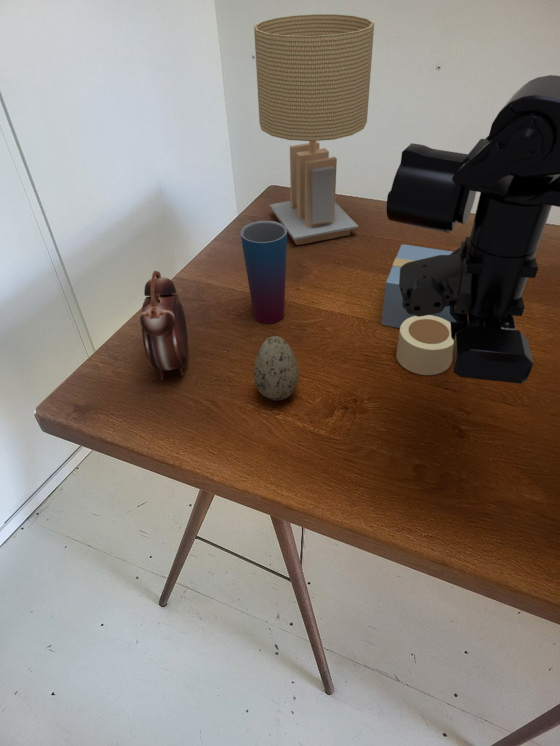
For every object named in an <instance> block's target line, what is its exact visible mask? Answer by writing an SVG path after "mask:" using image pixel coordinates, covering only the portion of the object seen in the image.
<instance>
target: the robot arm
mask: <svg viewBox="0 0 560 746" xmlns="http://www.w3.org/2000/svg"><path fill="white" fill-rule="evenodd" d="M477 193H479V198H478V202H477V206H476V209H475V215H474V218H473V223H472V227H471V232H470V235H469V236H465V240H462V241H461V244H460V247H459V248H457V249H455V250H454V251H452V253H451V254H450V255H438V256H434V257H430V258H425V259H421V260H417V261H412V262H408V263H406V264H404V265H403V266H402V267H401V268H400V278H399V287H400V291H401V294H402V298H403V302H402V306H403V308H404V309H406V312H407V313H408V314H412V315H415V316H417V317H421V316H426V315H431V314H437V313H440V312H442V311H443V309H444V307H448V306H450V315H451V316H452V317H453V318H454V319H455V321H456V322H450V324H451V337H452V339H453V340H454V343H453V352H452V357H453V358H452V370H453V373H454V374H455V375H457V376H458V377H459V378H464V379H465V378H466V379H475V380H483V381H493V382H501V383H502V382H503V383H511V384H521V385H522V384H523V383H525V382H527V381H528V379H529V377H530V375H531V372H532V369H533V367H534V361H533V360H534V359H533V357H532V352H531V347H530V342H529V339H528V338H527V337H526V336H525V334H524V333H522V331H521V330H518V329H517V325H516V321H515V316H516V317H523V313H524V310H525V307H526V306H525V302H524V298H523V293H524V289H525V287H526V284H527V281H528V279H536V276H537V273H538V270H539V266H538V265H539V264H538V262H537V258H536V255H537V252H538V248H539V245H540V241H541V240H542V237H543V233H544V231H545V227H546V224H547V222H548V218H549V216H550V212H551V209H552V207H557V208H560V75H556V74H555V75H552V74H550V75H544V76H538V77H535V78H533V79H531V80H528V82H526V83H524V85H522V87H520V88H519V89H518V90H517V91H516V92H515V93H514V94H513V95H512V97H510V99H509V100H508V101H506V103H505V104H504V106H502V108H501V110H499V112H498V113H497V115H496V117H495V118H494V119H493V121H492V123H491V126H490V130H489V134H488V135H487V136H486V137H485V138H480V139H479V140H478V142H477V143H476V144H475V145H474V147H473V148H472V149H471V150H470V151H469V152H468V153H463V152H456V151H449V150H442V149H436V148H432V147H429V146H426V145H424V144H419V143H409V145H408V146H407V147H405V148H404V149H403V150H402V151H401V157H400V164H399V166H398V168H397V169H396V172H395V175H394V178H393V181H392V185H391V188H390V191H389V192H388V194H387V197H386V208H385V209H386V217H387V220H388V221H390V222H391V221H392V222H396V223H400V224H403V225H404V224H406V225H410V226H415V227H419V228H424V229H427V230H433V231H438V232H442V233H447V234H450V232H452V231H453V230H454V229H455V225H456V223H457V224H460V225H465V224H466V223H467V221H468V219H469V217H470V214H471V212H472V209H473V206H474V203H475V199H476V195H477Z"/></svg>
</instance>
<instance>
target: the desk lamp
mask: <svg viewBox="0 0 560 746" xmlns="http://www.w3.org/2000/svg"><path fill="white" fill-rule="evenodd" d="M253 31H254V32H253V33H254V49H255V50H254V51H255V67H256V68H255V69H256V84H257V102H258V105H257V106H258V119H259V126H260V130H261V131H262V132H264V133H266V134H268V135H269V136H271V137H275V138H279V139H283V140H287V141H299V142H308V143H301V144H294V145H289V173H290V174H289V176H290V179H289V181H290V200H287V201H281V202H276V203H270V204H269V208H270V209H271V211H272V212H273V213H274V215H275V216H276V218H277V220H278V221H279V223H281V224H283V225H284V226H285V227H286V228H287V234H288V235H289V236H290V238H291V239H292V240H293V241H294V244H296V246H301V245H304V244H305V245H306V244H311V243H316V242H320V241H326V240H331V239H336V238H342V237H345V236H350V235H351V230H354V229H355V230H356V229H358V228H359V225H358V224H357V223H356V222H355V221H354V220H353V218H352V217H350V216H349V215H348V214H347V212H345V211H344V209H343V208H342V207H341V206H340V205H339V204H338V203H337V202H336V189H337V187H336V186H337V164H338V163H337V161H338V159H337V157H336V156H330V152H329V150H328V149H327V148H325V147H323V148H320V141H332V140H338V139H341V138H345V137H346V138H347V137H350V136H353V135H355V134H357V133H359V132H361V131H363V130H364V129H365V127H366V125H367V122H368V114H369V113H368V112H369V99H370V85H371V72H372V60H373V59H372V58H373V46H374V32H375V22H374V21H373V20H372V19H369V18H367V17H362V16H357V15H349V14H333V13H331V14H327V13H326V14H325V13H324V14H323V13H321V14H320V13H319V14H318V13H315V14H296V15H288V16H281V17H280V16H279V17H275V18H270V19H267V20H262V21H259V22H258V23H256V24H255V25H254V26H253Z"/></svg>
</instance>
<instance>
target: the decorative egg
mask: <svg viewBox="0 0 560 746" xmlns="http://www.w3.org/2000/svg"><path fill="white" fill-rule="evenodd" d="M255 357H256V358H255V362H254V367H253V368H254V369H253V378H254V383H255V386H256V388H257V390H258V391H259V393H260V394H261V395H262V396H263V397H264V398H266V399H267V400H271V401H283V400H286V399H288V398H289V397H291V395H293V393H295V390H296V389H297V387H298V383H299V379H300V374H299V371H300V370H299V365H298V361H297V358H296V356H295V353H294V351H293V349H292V348H291V346H290V345H289V344H288V342H287V341H286V340H285V339H283V338H282V337H281V336H278V335H272V336H270V337H267V339H265V341H263V343H262V344H261V345H260V347H259V349H258V351H257V354H256V356H255Z"/></svg>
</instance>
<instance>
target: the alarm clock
mask: <svg viewBox="0 0 560 746" xmlns="http://www.w3.org/2000/svg"><path fill="white" fill-rule="evenodd" d="M177 293H178V291H177V287H176V284H175V283H174V281H173V280H172V279H171V278H169V277H165V276H163V277H162V275H161V272H160V271H159V270H158V271H157V270H153V272H152V275H151V279H149V280H148V281H146V283H145V284H144V292H143V294H144V295H143V296H144V297H145V298H144V300H143V303H142V306H141V312H140V315H139V322H140V326H141V335H142V343H143V348H144V352H145V356H146V360H147V362H148V364H149V365H150V367H151V368H152V370H154V371H158V372H159V376H160V380H161V381H163V380H164V379H165V376H164V371H174V370H179V372H180V376H184V372H183V369H184V368H185V367H186V364H187V357H188V352H189V351H188V350H189V349H188V348H189V344H188V330H187V321H186V316H185V310H184V307H183V305H182V303H181V300H180V297H179V295H178V294H177Z"/></svg>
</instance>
